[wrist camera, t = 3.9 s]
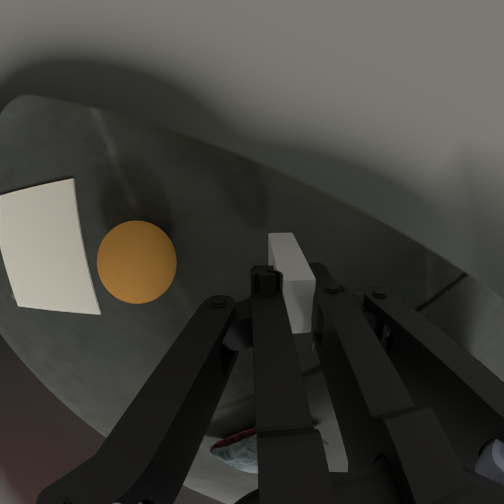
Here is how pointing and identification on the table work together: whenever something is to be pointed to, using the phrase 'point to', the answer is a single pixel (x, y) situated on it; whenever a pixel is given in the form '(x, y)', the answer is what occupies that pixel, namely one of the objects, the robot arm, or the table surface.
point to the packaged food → (240, 450)
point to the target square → (46, 249)
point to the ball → (136, 262)
